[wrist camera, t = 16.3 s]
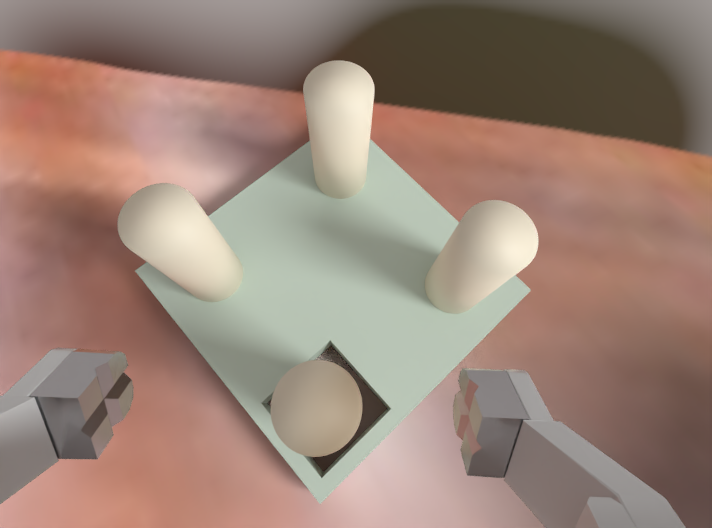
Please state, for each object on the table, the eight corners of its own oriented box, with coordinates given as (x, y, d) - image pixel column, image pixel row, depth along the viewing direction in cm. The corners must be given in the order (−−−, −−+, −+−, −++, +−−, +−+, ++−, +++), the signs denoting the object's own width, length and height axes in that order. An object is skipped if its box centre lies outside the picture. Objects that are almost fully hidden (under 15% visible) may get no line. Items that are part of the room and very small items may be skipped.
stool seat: (150, 280, 32) (44, 213, 21) (344, 133, 37) (344, 12, 25) (322, 495, 28) (306, 558, 17) (517, 298, 33) (610, 241, 21)
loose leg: (289, 421, 29) (254, 433, 18) (312, 367, 31) (294, 346, 19) (342, 445, 29) (340, 472, 18) (364, 389, 30) (375, 381, 19)
